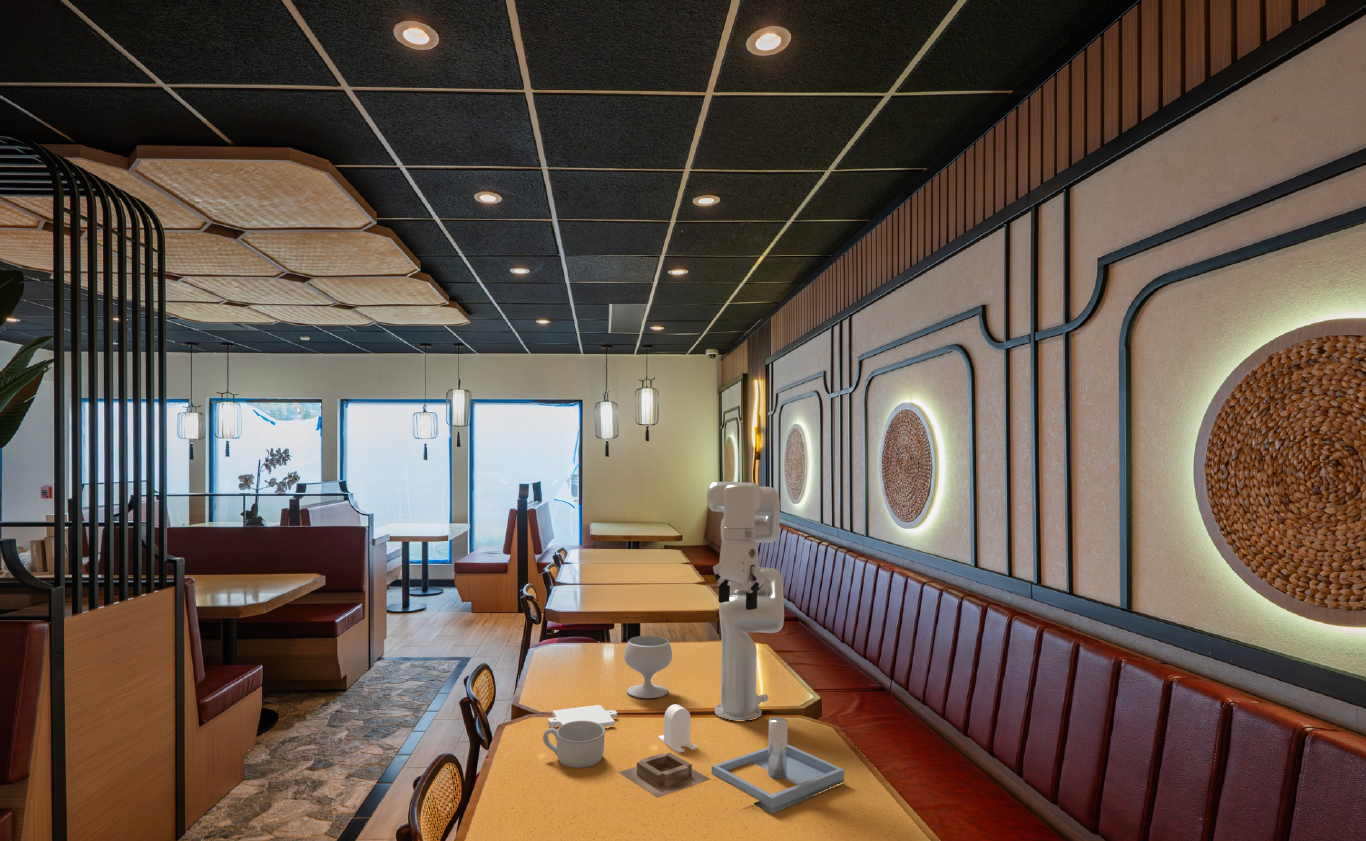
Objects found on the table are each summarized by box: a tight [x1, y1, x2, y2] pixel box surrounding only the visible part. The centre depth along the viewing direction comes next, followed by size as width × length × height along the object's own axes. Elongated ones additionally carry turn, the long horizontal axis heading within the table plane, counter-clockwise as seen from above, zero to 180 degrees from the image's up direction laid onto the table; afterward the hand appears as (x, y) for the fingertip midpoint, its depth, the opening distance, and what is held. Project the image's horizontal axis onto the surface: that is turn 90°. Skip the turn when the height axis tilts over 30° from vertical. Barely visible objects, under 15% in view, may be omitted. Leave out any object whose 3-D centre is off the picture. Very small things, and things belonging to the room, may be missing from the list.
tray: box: [711, 743, 845, 815], centre depth 156 cm, size 22×18×3 cm
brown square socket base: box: [618, 752, 711, 798], centre depth 154 cm, size 14×14×4 cm
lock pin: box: [767, 716, 788, 780], centre depth 156 cm, size 4×4×12 cm
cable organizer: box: [657, 703, 698, 754], centre depth 172 cm, size 5×10×10 cm, turn 31°
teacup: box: [542, 721, 606, 769], centre depth 162 cm, size 14×11×8 cm
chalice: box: [623, 635, 673, 699], centre depth 212 cm, size 14×14×15 cm
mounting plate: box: [547, 704, 618, 728], centre depth 188 cm, size 18×13×2 cm
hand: (737, 605), depth 177 cm, fingers open, 9 cm apart
